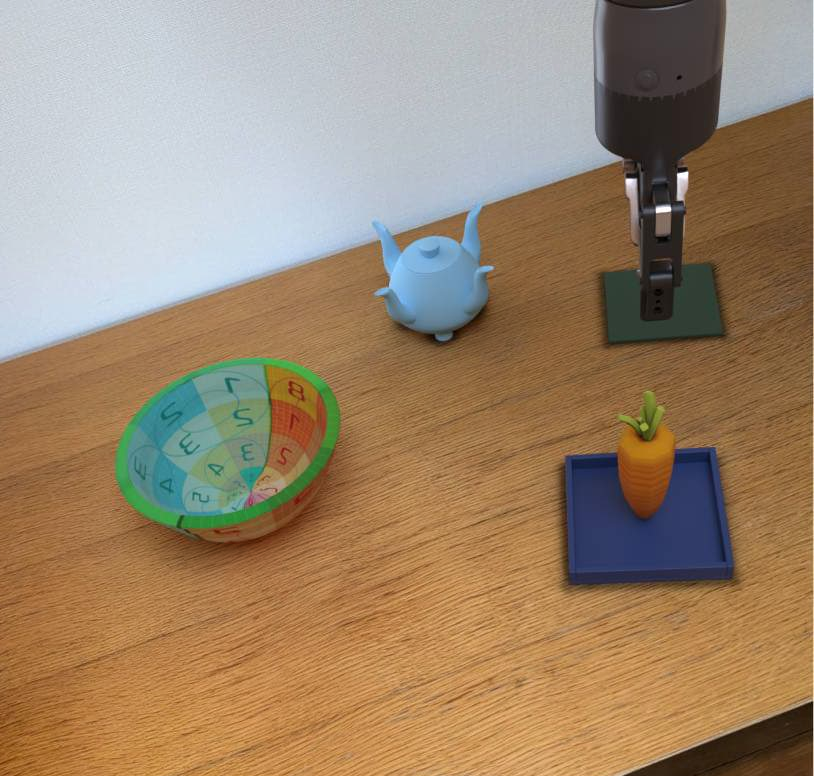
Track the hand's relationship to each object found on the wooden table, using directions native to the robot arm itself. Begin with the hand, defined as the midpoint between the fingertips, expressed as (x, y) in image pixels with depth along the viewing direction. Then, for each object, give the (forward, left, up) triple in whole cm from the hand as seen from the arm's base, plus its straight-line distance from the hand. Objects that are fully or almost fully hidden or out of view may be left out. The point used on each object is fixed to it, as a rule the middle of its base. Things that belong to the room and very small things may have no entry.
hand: (651, 278), depth 72 cm
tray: (0, 0, -28) cm, 28 cm away
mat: (-4, -31, -28) cm, 42 cm away
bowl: (+39, -5, -28) cm, 48 cm away
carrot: (0, 0, -28) cm, 28 cm away
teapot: (+21, -32, -28) cm, 47 cm away
